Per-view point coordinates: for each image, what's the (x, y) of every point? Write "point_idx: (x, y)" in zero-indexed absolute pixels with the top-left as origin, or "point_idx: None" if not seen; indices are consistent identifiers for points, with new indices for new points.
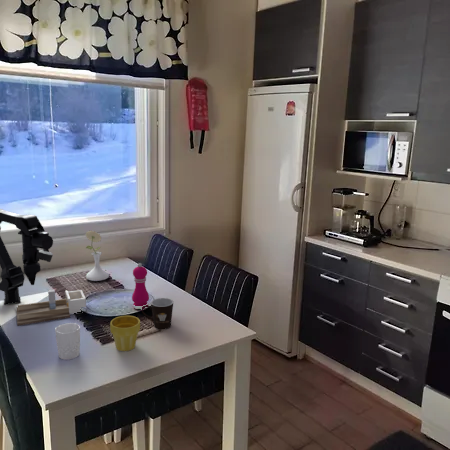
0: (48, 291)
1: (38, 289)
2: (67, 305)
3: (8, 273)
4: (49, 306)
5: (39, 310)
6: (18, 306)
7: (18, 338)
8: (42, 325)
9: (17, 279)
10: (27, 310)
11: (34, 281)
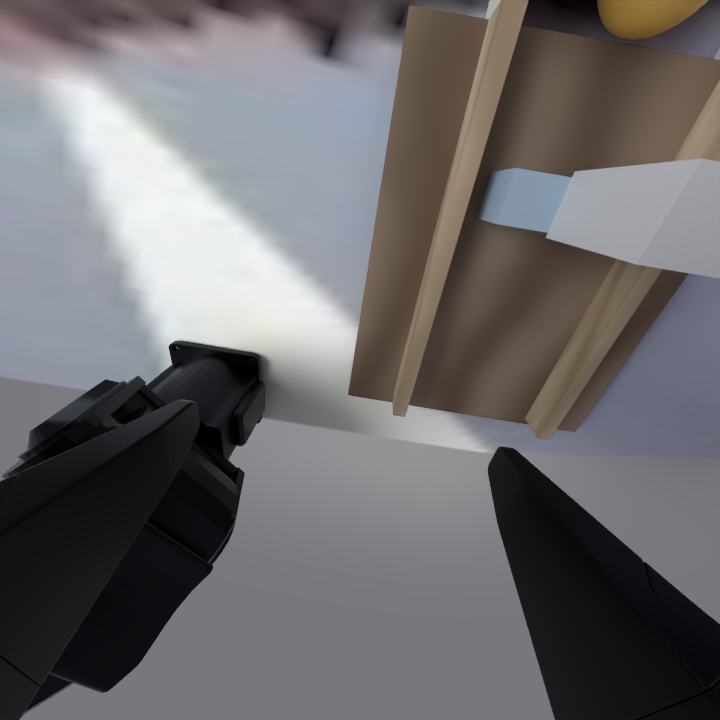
0: (695, 273)
1: (15, 195)
2: (655, 33)
3: (154, 634)
4: (478, 218)
5: (489, 300)
6: (406, 411)
7: (711, 444)
8: (691, 325)
9: (179, 496)
10: (435, 359)
11: (560, 493)
